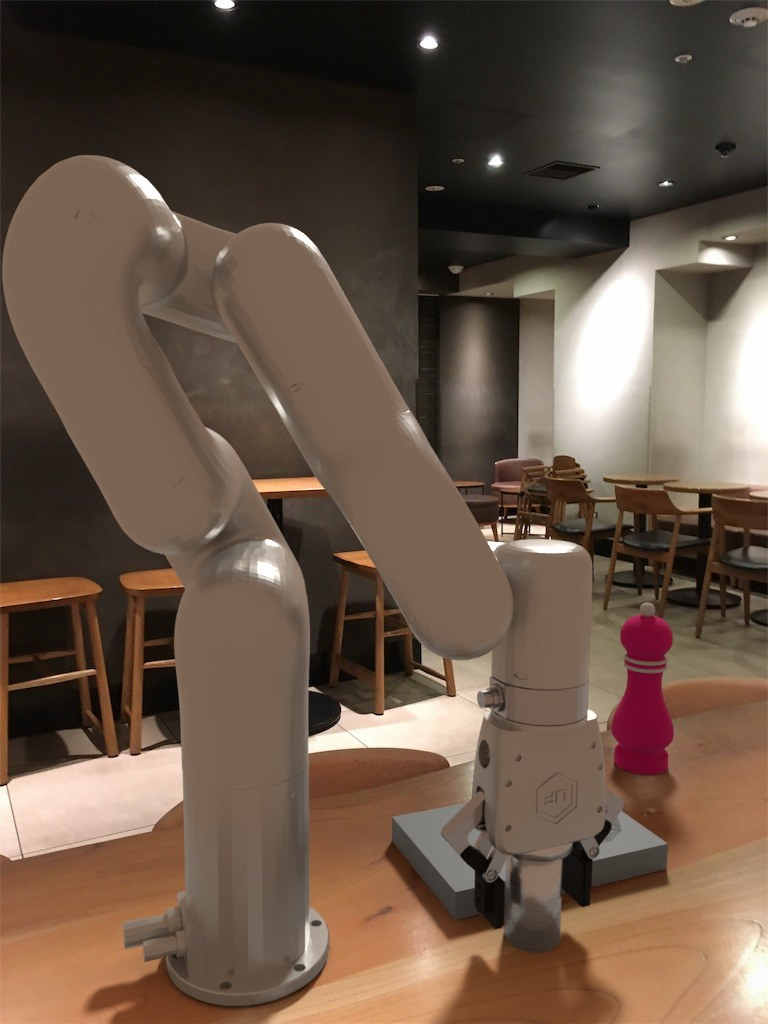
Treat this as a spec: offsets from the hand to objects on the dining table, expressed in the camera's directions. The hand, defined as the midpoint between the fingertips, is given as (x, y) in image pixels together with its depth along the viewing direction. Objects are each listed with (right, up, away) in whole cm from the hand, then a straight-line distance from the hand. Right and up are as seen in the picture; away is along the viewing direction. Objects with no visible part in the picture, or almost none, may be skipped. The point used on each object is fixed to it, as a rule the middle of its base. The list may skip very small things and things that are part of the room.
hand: (533, 906), depth 68 cm
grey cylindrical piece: (0, -2, 0) cm, 2 cm away
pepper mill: (+19, +1, +33) cm, 38 cm away
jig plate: (+1, -1, +13) cm, 13 cm away
